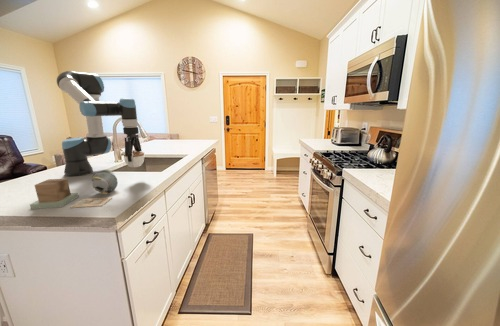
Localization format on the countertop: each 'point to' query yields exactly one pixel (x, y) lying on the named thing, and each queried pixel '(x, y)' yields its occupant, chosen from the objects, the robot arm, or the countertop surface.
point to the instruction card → (91, 202)
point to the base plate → (54, 202)
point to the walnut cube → (52, 190)
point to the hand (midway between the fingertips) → (135, 164)
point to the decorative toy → (104, 182)
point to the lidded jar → (136, 158)
